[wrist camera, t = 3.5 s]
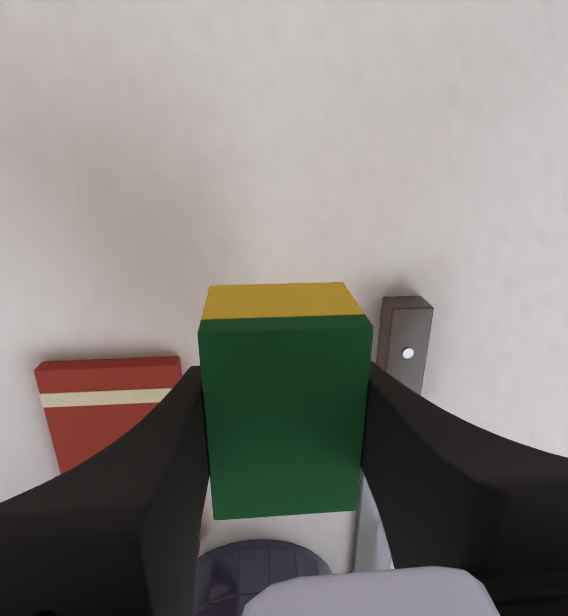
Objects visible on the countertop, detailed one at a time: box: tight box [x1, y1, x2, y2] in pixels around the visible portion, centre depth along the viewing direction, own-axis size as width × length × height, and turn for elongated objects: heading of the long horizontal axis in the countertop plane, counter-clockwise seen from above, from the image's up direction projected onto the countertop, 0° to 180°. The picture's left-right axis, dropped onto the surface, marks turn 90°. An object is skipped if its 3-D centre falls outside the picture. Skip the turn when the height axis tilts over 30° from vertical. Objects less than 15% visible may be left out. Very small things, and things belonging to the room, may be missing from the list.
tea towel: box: [34, 357, 200, 556], centre depth 20 cm, size 6×12×1 cm, turn 0°
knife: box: [352, 296, 434, 573], centre depth 21 cm, size 2×20×2 cm, turn 0°
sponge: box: [198, 282, 374, 520], centre depth 12 cm, size 4×6×3 cm
